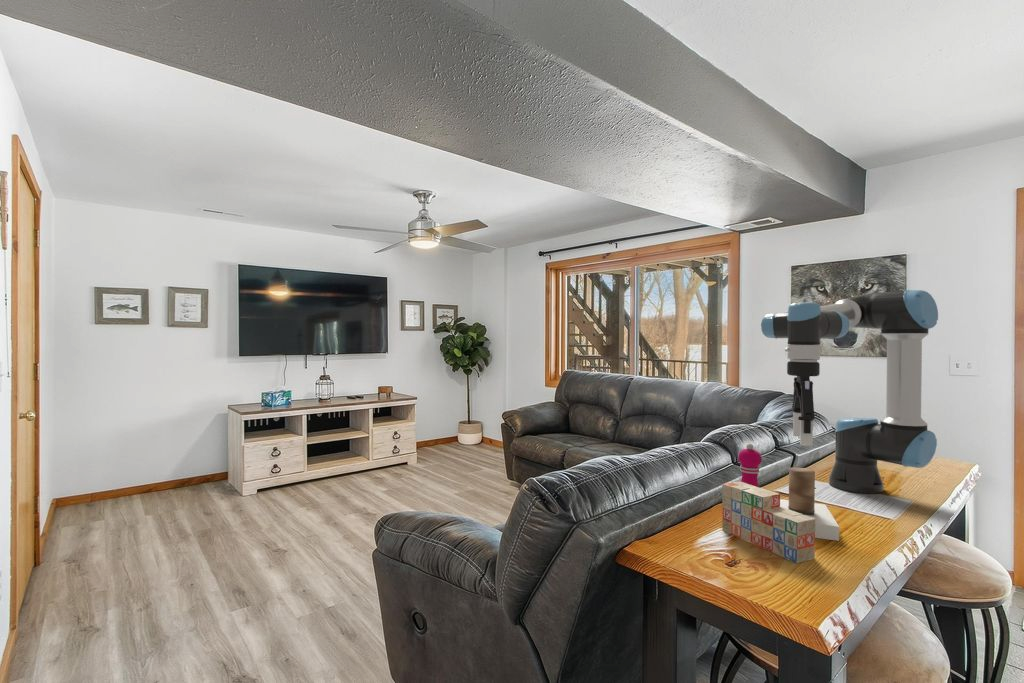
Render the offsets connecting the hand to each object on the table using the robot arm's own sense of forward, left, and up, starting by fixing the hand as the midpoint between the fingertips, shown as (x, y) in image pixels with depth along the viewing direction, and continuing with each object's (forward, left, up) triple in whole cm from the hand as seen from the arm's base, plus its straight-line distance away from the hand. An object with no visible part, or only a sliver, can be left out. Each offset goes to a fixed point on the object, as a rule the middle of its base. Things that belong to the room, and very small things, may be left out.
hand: (802, 440), depth 136 cm
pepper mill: (+13, -3, -23) cm, 26 cm away
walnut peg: (0, 0, -22) cm, 22 cm away
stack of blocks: (+10, +18, -23) cm, 31 cm away
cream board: (0, 0, -22) cm, 22 cm away
